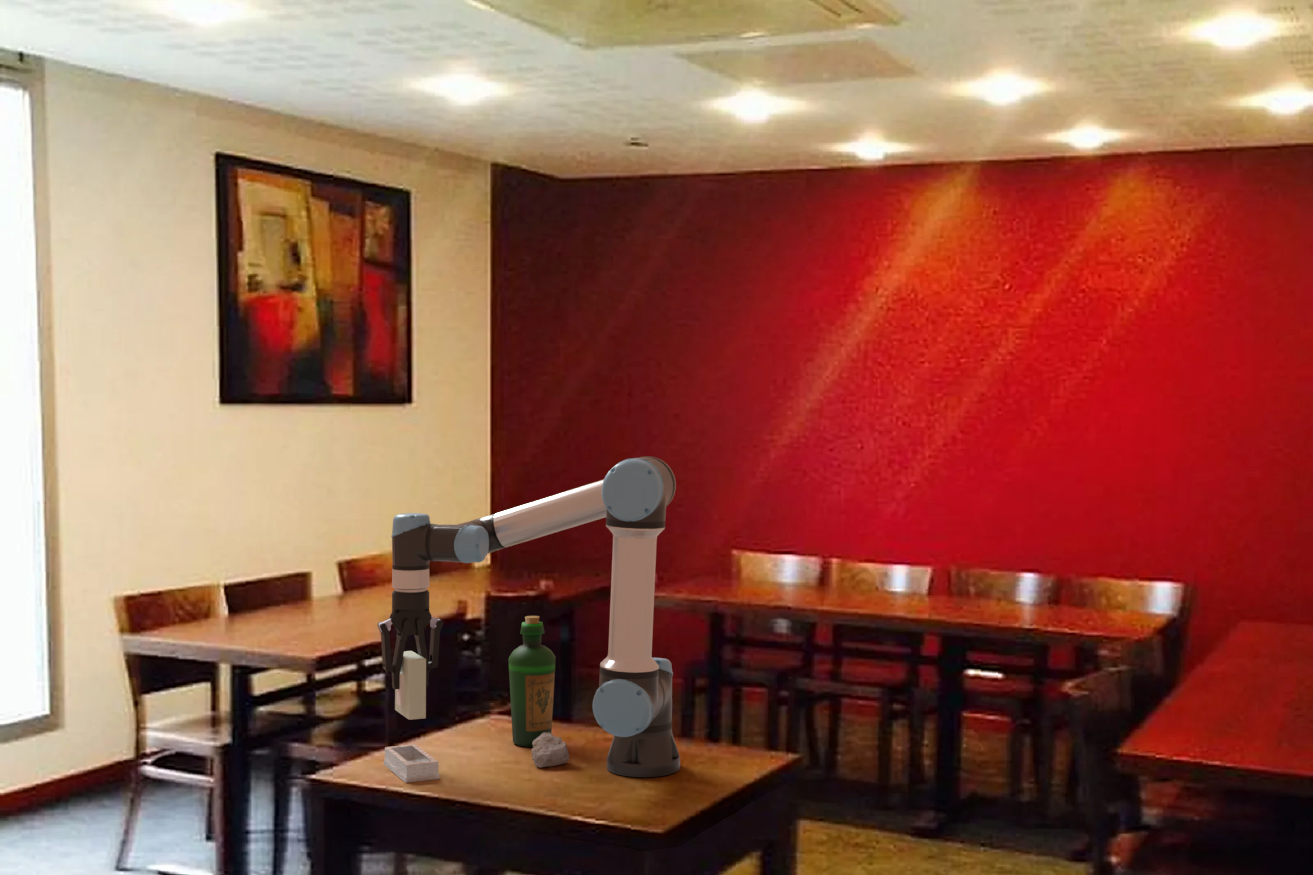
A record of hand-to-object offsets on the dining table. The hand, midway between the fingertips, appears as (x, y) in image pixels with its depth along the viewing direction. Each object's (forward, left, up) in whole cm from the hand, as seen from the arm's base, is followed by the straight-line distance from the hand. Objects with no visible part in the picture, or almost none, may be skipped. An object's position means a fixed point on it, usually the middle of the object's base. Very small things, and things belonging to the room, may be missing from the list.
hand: (410, 703), depth 303 cm
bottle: (+12, -31, -14) cm, 36 cm away
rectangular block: (0, 0, -2) cm, 2 cm away
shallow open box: (0, 0, -14) cm, 14 cm away
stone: (-5, -28, -14) cm, 32 cm away
